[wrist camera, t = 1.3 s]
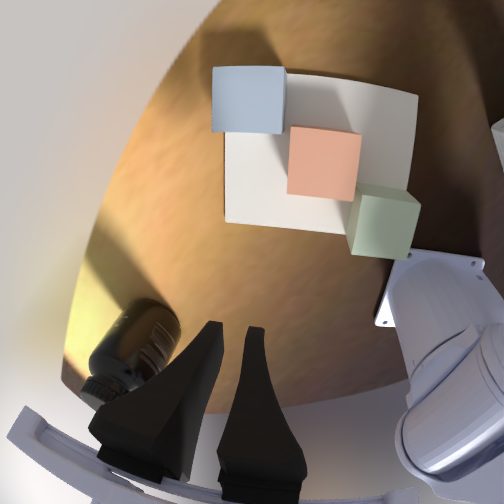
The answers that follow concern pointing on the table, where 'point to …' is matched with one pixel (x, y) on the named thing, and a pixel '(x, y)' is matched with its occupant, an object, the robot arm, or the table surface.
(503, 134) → the skincare box
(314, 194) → the terracotta block
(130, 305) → the supplement bottle
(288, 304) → the table surface
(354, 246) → the sage block
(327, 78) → the felt mat
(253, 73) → the slate block
